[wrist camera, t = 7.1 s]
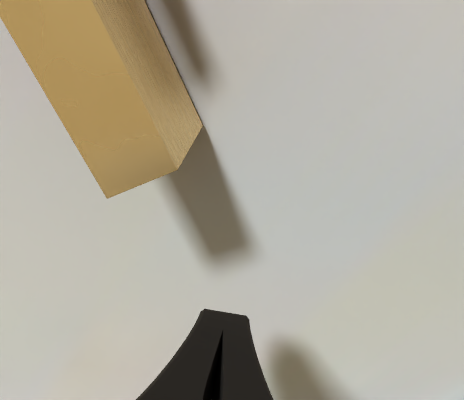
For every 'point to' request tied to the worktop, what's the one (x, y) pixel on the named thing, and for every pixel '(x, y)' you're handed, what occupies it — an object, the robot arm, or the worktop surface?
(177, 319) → the worktop surface
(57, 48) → the loose leaf
